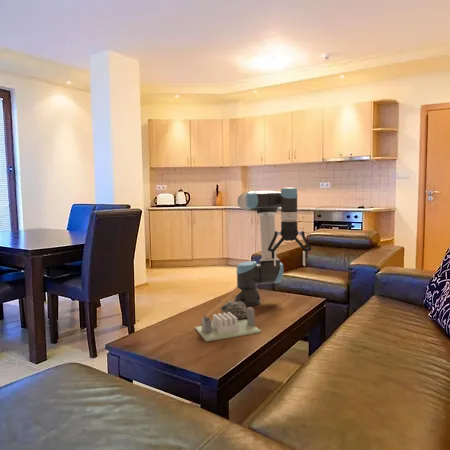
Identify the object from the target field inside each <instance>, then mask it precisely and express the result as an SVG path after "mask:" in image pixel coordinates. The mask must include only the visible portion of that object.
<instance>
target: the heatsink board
mask: <svg viewBox="0 0 450 450" xmlns="http://www.w3.org/2000/svg"><path fill="white" fill-rule="evenodd" d="M246 308H247V317H246V318H247V319H245V318H243V319H238V318H237V317H235V316H234V315H233V314H232V313H230V312H227V314H226V313H223V315H222V313H221V312H219V313H217V314H216V313H215V314H214V315H213V316H212V320H211V318H209V320H208V321H207V320H206V319H205V318H204V317H203V318H201V325H198V326H195V327H194V328H195V330H196V331H197V332H198V334H199V335H200V336H201V338H203V340H204V341H205V342H212V341H218V340H224V339H231V338H234V337H235V338H236V337H243V336H247V335H252V334H253V335H254V333H255V334H259V333H260V332H262V330H261V329H259V328H258V327H257V326H256V325H255V323H256V322H255V321H256V320H255V317H256V315H255V308H253V307H252V306H246Z"/></svg>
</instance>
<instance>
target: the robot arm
mask: <svg viewBox="0 0 450 450" xmlns="http://www.w3.org/2000/svg"><path fill="white" fill-rule="evenodd" d="M237 205H238V207H239V208H240V209H241V210H244V211H248V212H256V215H257V216H258V217H259V224H260V225H259V226H260V227H259V228H260V229H259V230H260V245H261V258H260V259H259V263H257V261H255V260H249V261H248V260H247V261H244V262H240V263H238V264H237V266H236V287H238V288H239V289H241V290H242V291H241V292H240V293H239V294H238V295H237V296H236V297H235V296H234V302H238V301H241V302H243V303H244V304H245V306H246V307H252V306H255V305H260V303H261V296H260V293H259V289H258V285H263V284H279V283H281V282H282V280H283V277H284V264H283V263H282V262H281V259H280V258H278V255H277V249H278V248H279V247H280V245H281V244H282V243H283V242H284V241H286V242H288V241H291V242H292V241H296V243H297V245H299V246H300V247H301V249H302V250H303V251H302V265H303V266H304V267H306V259H307V260H308V254H309V253H308V252H310V251H312V247H311V246H310V244H309V241H308V238H307V237H306V236H305V231H304V230H301V231H298V190H297V188H296V187H282V188H281V189H280V191H274V190H258V191H256V190H254V191H246V192H243V193H240V195H239V196H238V197H237ZM279 210H280V221H281V222H280V224H281V225H280V227H281V228H280V231H278V230H276V226H275V225H276V223H275V220H276V219H275V216H276V215H277V214H278V212H277V211H279ZM299 235H300V236H301V237H302V239H303V241H304V243H305V245H306V247H305V245H304V244H303V243H302V242H301V240H299V238H298V236H299ZM279 236H280V237H281V238H280V239H279V241H278V242H277V238H278V237H279Z"/></svg>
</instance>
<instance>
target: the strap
mask: <svg viewBox="0 0 450 450" xmlns="http://www.w3.org/2000/svg"><path fill="white" fill-rule="evenodd" d="M241 291H242V290H241V289H239V288H238V287H237V286H235V288H233V289H232V290H231V291H230V293H229V294H228V295H227V296H226V297H224V299H222V300H220V301H221V302H220V301H219V302H220V303H219V302H218V304H216V305H215V307H213V308H212V309H211V310H210V311H209V312H207V313H206V314H204V315H203V318H205V319H206V320H207V321H208V320H209V319H211V317H213V315H214V314H216V313H217V312H219V310H221V308H222V307H223V306H224V305H225V304H226V303H227V302H228V301H232V299H233V298H235V297H236V296H237V295H238V294H239V293H240V292H241Z"/></svg>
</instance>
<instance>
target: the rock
mask: <svg viewBox="0 0 450 450" xmlns="http://www.w3.org/2000/svg"><path fill="white" fill-rule="evenodd" d="M221 301H222V300H220V301H218V304H219V303H220V302H221ZM220 310H221V314H222V315H223V313H226V314H227V312H230V313H232V314H233V315H234V316H235V317H237V318H238V320H244V319H245V318H247V306H245V304H244V303H243V302H241V301H238V302H234V301H233V300H230V301H228V302H227V303H226V304H225V305H224V306H223V307H222V308H221V309H220Z"/></svg>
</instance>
